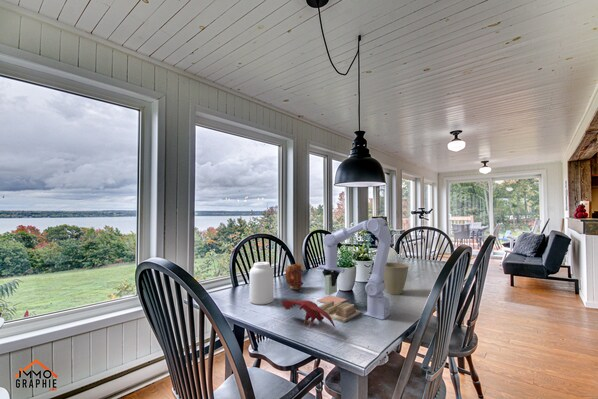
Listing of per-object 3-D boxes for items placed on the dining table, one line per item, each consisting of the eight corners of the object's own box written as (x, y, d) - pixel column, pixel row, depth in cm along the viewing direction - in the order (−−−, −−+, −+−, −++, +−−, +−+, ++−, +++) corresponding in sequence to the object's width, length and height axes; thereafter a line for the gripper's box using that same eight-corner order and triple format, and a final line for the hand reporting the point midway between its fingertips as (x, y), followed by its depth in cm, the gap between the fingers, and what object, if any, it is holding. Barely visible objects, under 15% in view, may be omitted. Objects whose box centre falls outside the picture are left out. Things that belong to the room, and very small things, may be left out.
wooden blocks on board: (360, 313, 136) (360, 306, 136) (344, 322, 126) (344, 315, 126) (331, 305, 147) (331, 299, 147) (314, 313, 136) (314, 306, 136)
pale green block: (336, 291, 149) (337, 274, 150) (329, 294, 144) (329, 276, 144) (333, 291, 151) (333, 273, 151) (325, 294, 146) (325, 275, 146)
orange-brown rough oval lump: (294, 285, 183) (294, 261, 183) (305, 287, 179) (305, 262, 179) (280, 291, 170) (280, 265, 171) (292, 294, 166) (292, 267, 166)
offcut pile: (355, 312, 135) (355, 304, 135) (345, 317, 128) (345, 309, 128) (346, 309, 138) (346, 302, 138) (335, 315, 132) (335, 307, 132)
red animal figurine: (290, 324, 134) (272, 305, 127) (300, 307, 139) (284, 288, 132) (339, 345, 114) (322, 324, 107) (349, 324, 119) (333, 302, 112)
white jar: (244, 302, 152) (244, 263, 152) (258, 296, 163) (258, 259, 163) (264, 306, 146) (264, 266, 146) (278, 299, 157) (278, 261, 157)
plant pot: (412, 296, 160) (412, 267, 161) (385, 296, 161) (385, 267, 161) (403, 289, 175) (403, 262, 175) (378, 289, 176) (378, 262, 176)
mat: (346, 300, 154) (346, 299, 154) (334, 306, 146) (334, 304, 146) (329, 296, 162) (329, 295, 162) (317, 301, 153) (317, 300, 153)
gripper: (314, 257, 150) (314, 284, 149) (339, 261, 140) (339, 289, 140) (322, 255, 155) (322, 281, 155) (346, 258, 146) (346, 286, 145)
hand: (331, 285), depth 148 cm, fingers closed on pale green block, 2 cm apart
